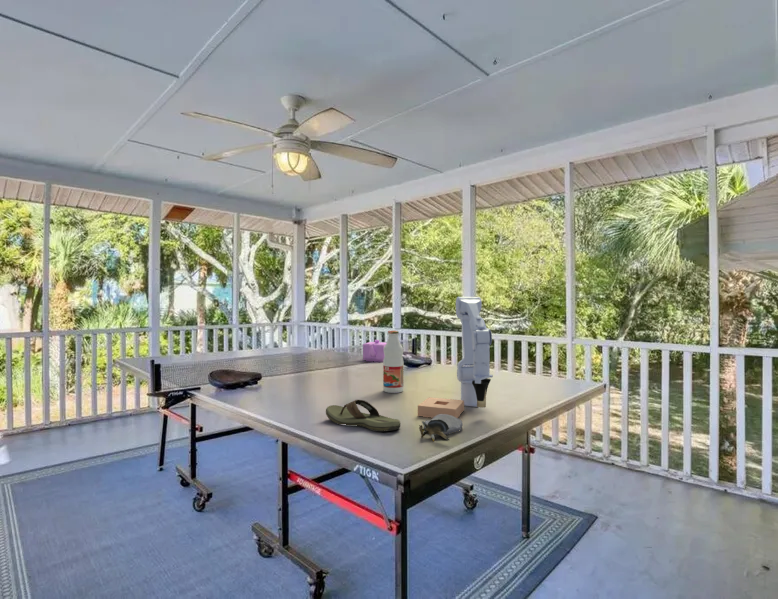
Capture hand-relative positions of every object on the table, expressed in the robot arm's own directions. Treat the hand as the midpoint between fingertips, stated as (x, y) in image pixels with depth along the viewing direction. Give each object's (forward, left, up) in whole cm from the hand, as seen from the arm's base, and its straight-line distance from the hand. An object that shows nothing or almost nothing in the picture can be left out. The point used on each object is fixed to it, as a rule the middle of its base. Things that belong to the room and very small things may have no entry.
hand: (481, 399), depth 159 cm
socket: (0, -15, -7) cm, 16 cm away
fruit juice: (-29, -46, -7) cm, 55 cm away
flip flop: (+23, -37, -7) cm, 44 cm away
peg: (0, 0, -2) cm, 2 cm away
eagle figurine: (+29, -9, -7) cm, 31 cm away
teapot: (-113, -92, -7) cm, 146 cm away
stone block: (+19, -9, -7) cm, 22 cm away
